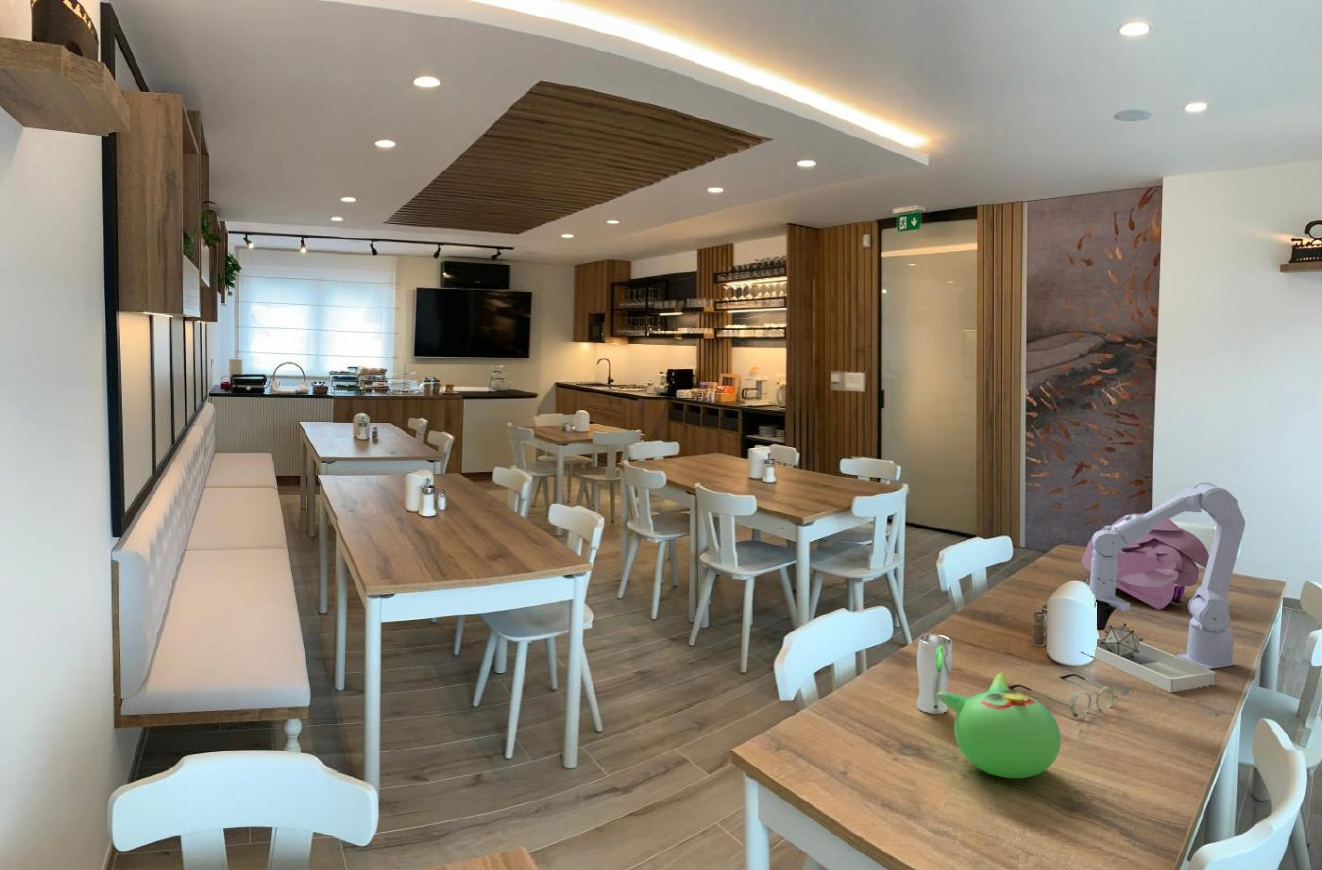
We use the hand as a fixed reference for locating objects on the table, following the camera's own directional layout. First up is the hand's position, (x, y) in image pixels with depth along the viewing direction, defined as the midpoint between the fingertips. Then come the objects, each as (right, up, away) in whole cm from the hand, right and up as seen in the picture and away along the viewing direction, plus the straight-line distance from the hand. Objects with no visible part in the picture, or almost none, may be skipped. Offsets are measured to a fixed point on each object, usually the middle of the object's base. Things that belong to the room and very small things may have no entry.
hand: (1099, 629), depth 191 cm
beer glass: (-56, -8, -35) cm, 66 cm away
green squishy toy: (-52, -10, -57) cm, 78 cm away
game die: (+2, -6, -6) cm, 8 cm away
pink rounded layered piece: (+39, -1, +44) cm, 59 cm away
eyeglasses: (-25, -8, -28) cm, 38 cm away
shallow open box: (+4, -6, -12) cm, 14 cm away
